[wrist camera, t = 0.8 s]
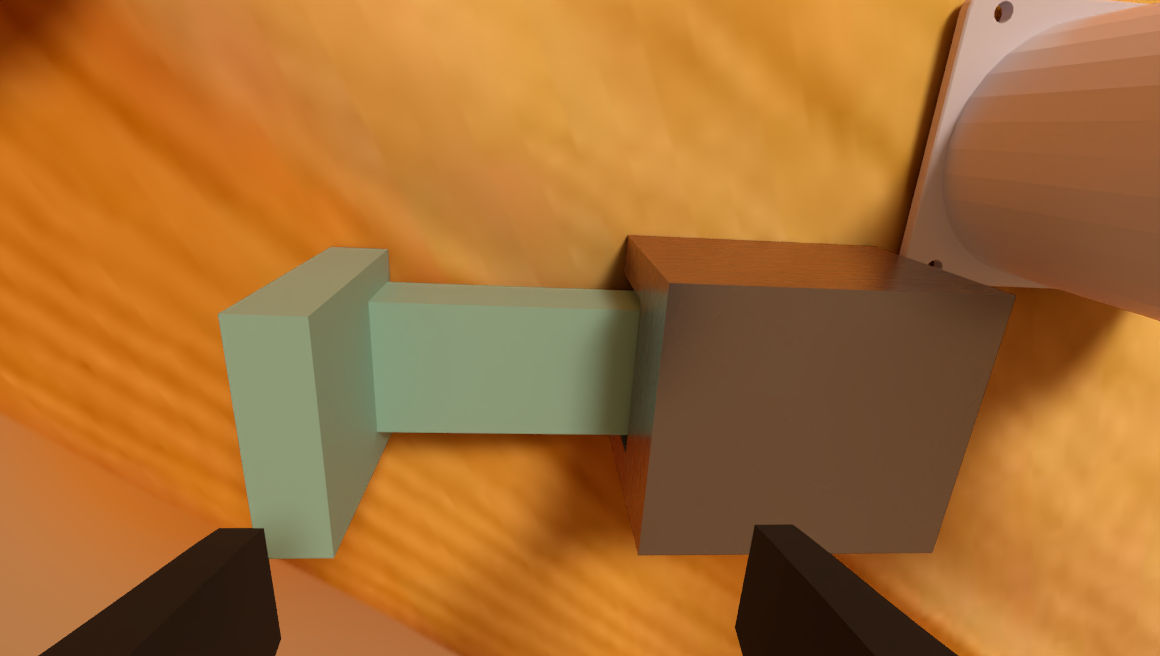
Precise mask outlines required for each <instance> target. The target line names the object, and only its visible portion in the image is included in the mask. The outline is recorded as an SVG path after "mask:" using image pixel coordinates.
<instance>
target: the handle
mask: <svg viewBox="0 0 1160 656" xmlns="http://www.w3.org/2000/svg"><path fill="white" fill-rule="evenodd" d="M640 303H641V300H640V299H639V297H638V295H637V294H636V292H635V291H630V290H601V289H573V288H545V287H516V286H488V285H460V284H432V283H403V282H390V275H389V257H388V249H370V248H346V247H330V248H328V249H327V250H325V251H323V252H322V253H320V254H318V255H316V256H315V257H313V258H311V259H310V260H308V261H306V262H305V263H303V264H301V265H300V266H298V267H296V268H295V269H293V270H291V271H290V272H288V273H286V274H284V275H283V276H281V277H279V278H278V279H276V280H274V281H273V282H271V283H269V284H268V285H266V286H264V287H263V288H261V289H259V290H258V291H256V292H254V293H252V294H251V295H249V296H247V297H246V298H244V299H242V300H241V301H239V302H237V303H236V304H234V305H232V306H231V307H229V308H227V309H225V310H224V311H222V312H220V313H219V314H218V318H219V324H220V330H221V336H222V342H223V348H224V355H225V361H226V367H227V373H228V379H229V385H230V392H231V398H232V404H233V410H234V416H235V422H236V429H237V435H238V441H239V447H240V453H241V459H242V466H243V472H244V478H245V484H246V490H247V496H248V503H249V509H250V515H251V521H252V527H253V528H264V532H265V539H266V545H267V551H268V558H269V559H295V558H334V557H335V555H336V552H337V550H338V548H339V546H340V544H341V542H342V539H343V537H344V535H345V533H346V531H347V529H348V527H349V524H350V522H351V520H352V518H353V516H354V514H355V511H356V509H357V507H358V505H359V503H360V501H361V498H362V496H363V494H364V492H365V490H366V488H367V485H368V483H369V481H370V479H371V477H372V475H373V472H374V470H375V468H376V466H377V464H378V462H379V459H380V457H381V455H382V453H383V451H384V449H385V447H386V444H387V442H388V440H389V438H390V436H391V434H392V432H412V433H500V434H587V435H628V426H629V416H630V405H631V395H632V385H633V375H634V364H635V354H636V344H637V334H638V323H639V313H640Z"/></svg>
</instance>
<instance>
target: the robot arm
mask: <svg viewBox="0 0 1160 656" xmlns="http://www.w3.org/2000/svg"><path fill="white" fill-rule="evenodd" d="M998 5H999V6H1000V7H1001V9H1002V16H1001V18H1000V20H999V21H998V22H997V21H996V20H995V18H994V11H995V9H996V7H997V6H998ZM899 255H901V256H904V257H907V258H910V259H913V260H916V261H918V262H921V263H924V264H927V265H928V264H929V263H930V262H931V261H934V266H933V267H936V268H938V269H941V270H944V271H947V272H950V273H953V274H956V275H958V276H961V277H964V278H967V279H970V280H973V281H976V282H979V283H981V284H984V285H987V286H1001V287H1027V288H1053V289H1059V290H1062V291H1065V292H1068V293H1071V294H1075V295H1078V296H1081V297H1084V298H1088V299H1091V300H1094V301H1097V302H1101V303H1104V304H1107V305H1110V306H1113V307H1117V308H1120V309H1123V310H1126V311H1130V312H1133V313H1136V314H1139V315H1143V316H1146V317H1149V318H1152V319H1155V320H1159V321H1160V2H1159V3H1154V4H1144V3H1133V2H1122V1H1111V0H966V1H965V2H964V3H963V5H962V7H961V9H960V12H959V16H958V20H957V24H956V28H955V32H954V36H953V40H952V44H951V48H950V52H949V56H948V60H947V64H946V68H945V72H944V76H943V80H942V84H941V88H940V92H939V96H938V101H937V105H936V109H935V113H934V117H933V121H932V125H931V129H930V133H929V137H928V141H927V145H926V149H925V153H924V157H923V161H922V165H921V169H920V173H919V177H918V181H917V185H916V189H915V193H914V197H913V201H912V205H911V209H910V213H909V217H908V221H907V225H906V229H905V233H904V237H903V241H902V245H901V249H900V253H899ZM735 629H736V633H737V636H738V640H739V643H740V647H741V651H742V654H743V656H958V655H956V654H955V653H954V652H953V651H951V650H950V649H949V648H947V647H946V646H945V645H943V644H942V643H941V642H939V641H938V640H937V639H936V638H934V637H933V636H932V635H930V634H929V633H928V632H927V631H925V630H924V629H923V628H922V627H920V626H919V625H918V624H916V623H915V622H914V621H913V620H911V619H910V618H909V617H908V616H906V615H905V614H904V613H903V612H901V611H900V610H899V609H898V608H896V607H895V606H894V605H893V604H891V603H890V602H889V601H888V600H886V599H885V598H884V597H883V596H881V595H880V594H879V593H878V592H877V591H875V590H874V589H873V588H872V587H870V586H869V585H868V584H867V583H866V582H864V581H863V580H862V579H861V578H859V577H858V576H857V575H856V574H855V573H853V572H852V571H851V570H850V569H848V568H847V567H846V566H845V565H844V564H842V563H841V562H840V561H839V560H837V559H836V558H835V557H834V556H833V555H831V554H830V553H829V552H828V551H826V550H825V549H824V548H823V547H821V546H820V545H819V544H818V543H816V542H815V541H814V540H813V539H811V538H810V537H809V536H808V535H806V534H805V533H804V532H802V531H801V530H800V529H798V528H797V527H796V526H794V525H793V524H781V525H755V526H754V531H753V536H752V541H751V547H750V552H749V557H748V562H747V567H746V573H745V578H744V583H743V588H742V594H741V599H740V604H739V609H738V615H737V620H736V625H735ZM280 640H281V635H280V628H279V622H278V616H277V609H276V603H275V596H274V590H273V583H272V577H271V571H270V564H269V558H268V551H267V545H266V539H265V532H264V528H219V529H217V530H216V531H214V532H213V533H211V534H210V535H208V536H207V537H205V538H204V539H202V540H201V541H199V542H198V543H196V544H195V545H193V546H192V547H191V548H189V549H188V550H186V551H185V552H183V553H182V554H181V555H179V556H178V557H177V558H175V559H174V560H172V561H171V562H170V563H168V564H167V565H165V566H164V567H162V568H161V569H160V570H159V571H157V572H156V573H154V574H153V575H151V576H150V577H149V578H147V579H146V580H144V581H143V582H142V583H140V584H139V585H137V586H136V587H135V588H133V589H132V590H131V591H129V592H128V593H126V594H125V595H124V596H122V597H121V598H119V599H118V600H117V601H116V602H114V603H113V604H111V605H110V606H108V607H107V608H105V609H104V610H103V611H101V612H100V613H98V614H97V615H96V616H94V617H93V618H91V619H90V620H88V621H87V622H86V623H84V624H83V625H81V626H80V627H79V628H77V629H76V630H74V631H73V632H72V633H70V634H69V635H67V636H66V637H64V638H63V639H62V640H60V641H59V642H58V643H56V644H55V645H53V646H52V647H50V648H49V649H47V650H46V651H45V652H43V653H42V654H40V655H39V656H275V655H276V651H277V649H278V646H279V643H280Z"/></svg>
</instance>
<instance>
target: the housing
mask: <svg viewBox="0 0 1160 656" xmlns="http://www.w3.org/2000/svg"><path fill="white" fill-rule="evenodd" d="M624 274H625V276H626V278H627V279H628V281H629V282H630V284H631V286H632V287H633V289H634V291H635V292H636V294H637V295H638V297H639V299H640V300H641V303H640V313H639V323H638V334H637V344H636V354H635V364H634V375H633V385H632V395H631V405H630V416H629V426H628V435H610V442H611V446H612V450H613V454H614V458H615V462H616V466H617V470H618V474H619V479H620V483H621V487H622V491H623V495H624V499H625V503H626V507H627V511H628V515H629V519H630V523H631V528H632V532H633V536H634V540H635V544H636V548H637V552H638V555H733V554H749V552H750V547H751V541H752V536H753V531H754V526H755V525H781V524H793V525H794V526H796V527H797V528H798V529H800V530H801V531H802V532H804V533H805V534H806V535H808V536H809V537H810V538H811V539H813V540H814V541H815V542H816V543H818V544H819V545H820V546H821V547H823V548H824V549H825V550H826V551H828V552H829V553H830V554H850V553H932V552H933V549H934V546H935V543H936V540H937V537H938V534H939V531H940V528H941V524H942V521H943V518H944V515H945V512H946V509H947V506H948V503H949V500H950V497H951V494H952V491H953V488H954V485H955V482H956V478H957V475H958V472H959V469H960V466H961V463H962V460H963V457H964V454H965V451H966V448H967V445H968V442H969V439H970V436H971V432H972V429H973V426H974V423H975V420H976V417H977V414H978V411H979V408H980V405H981V402H982V399H983V396H984V393H985V390H986V386H987V383H988V380H989V377H990V374H991V371H992V368H993V365H994V362H995V359H996V356H997V353H998V350H999V347H1000V344H1001V340H1002V337H1003V334H1004V331H1005V328H1006V325H1007V322H1008V319H1009V316H1010V313H1011V310H1012V307H1013V304H1014V301H1015V297H1016V295H1013V294H1010V293H1007V292H1004V291H1001V290H999V289H996V288H993V287H990V286H987V285H984V284H981V283H979V282H976V281H973V280H970V279H967V278H964V277H961V276H958V275H956V274H953V273H950V272H947V271H944V270H941V269H938V268H936V267H933V266H930V265H927V264H924V263H921V262H918V261H916V260H913V259H910V258H907V257H904V256H901V255H898V254H896V253H893V252H890V251H887V250H884V249H881V248H878V247H876V246H860V245H837V244H815V243H792V242H770V241H747V240H725V239H702V238H680V237H658V236H635V235H628V238H627V250H626V262H625V273H624Z"/></svg>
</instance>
